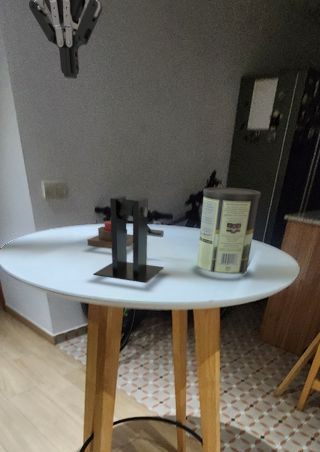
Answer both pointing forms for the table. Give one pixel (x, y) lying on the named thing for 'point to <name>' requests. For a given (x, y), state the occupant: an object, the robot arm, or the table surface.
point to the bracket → (119, 244)
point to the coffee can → (227, 229)
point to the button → (107, 225)
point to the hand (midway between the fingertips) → (70, 77)
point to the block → (106, 239)
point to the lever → (127, 214)
